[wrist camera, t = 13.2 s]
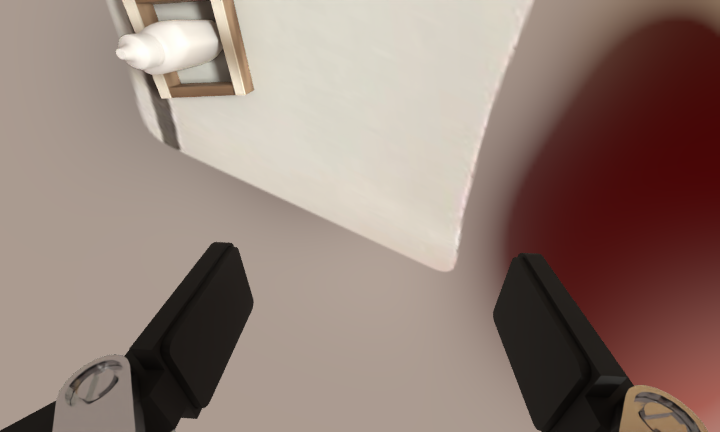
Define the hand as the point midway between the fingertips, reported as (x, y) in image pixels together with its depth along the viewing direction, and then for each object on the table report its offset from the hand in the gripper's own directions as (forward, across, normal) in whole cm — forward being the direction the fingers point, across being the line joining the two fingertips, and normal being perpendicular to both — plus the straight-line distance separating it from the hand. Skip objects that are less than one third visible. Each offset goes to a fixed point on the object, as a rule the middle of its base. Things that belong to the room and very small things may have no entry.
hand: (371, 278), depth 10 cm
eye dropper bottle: (+28, +19, -6) cm, 35 cm away
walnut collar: (+28, +19, -6) cm, 35 cm away
